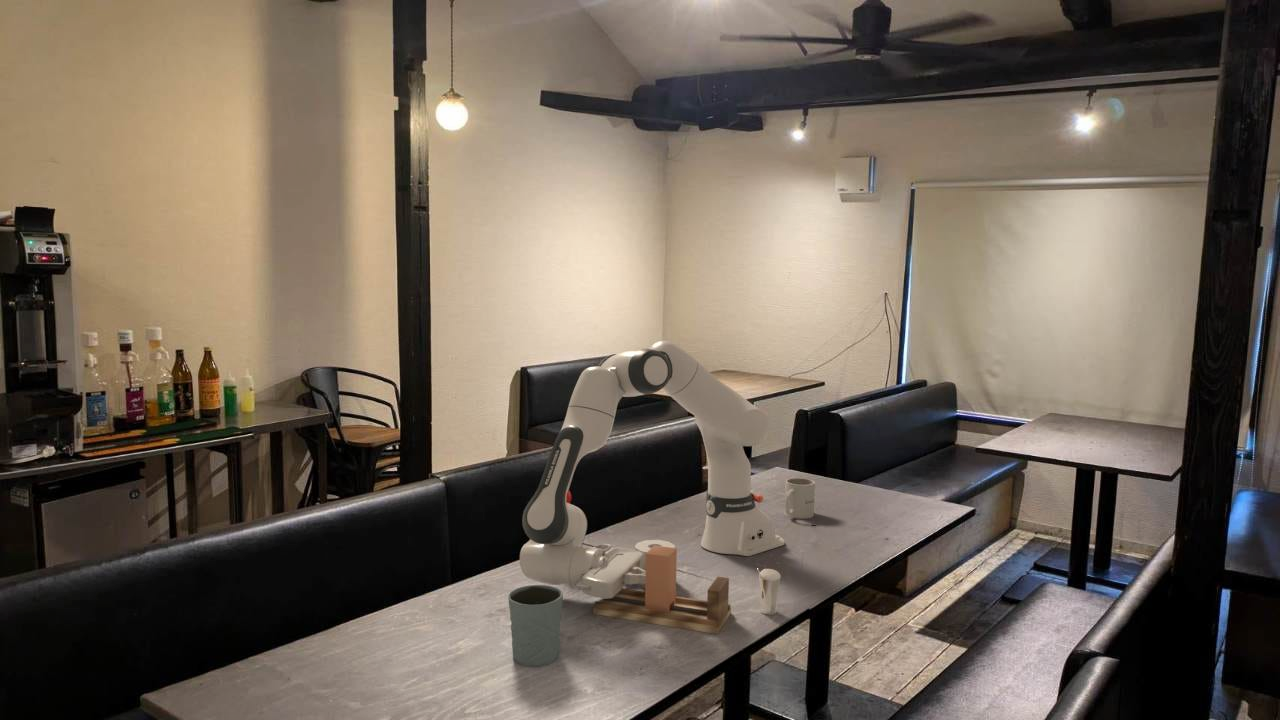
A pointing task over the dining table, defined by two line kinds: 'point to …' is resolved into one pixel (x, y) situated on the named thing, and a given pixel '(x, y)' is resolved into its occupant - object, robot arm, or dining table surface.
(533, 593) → the green cup
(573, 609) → the dining table surface
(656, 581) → the panel
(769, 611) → the milkshake
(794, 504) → the mug
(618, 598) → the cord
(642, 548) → the toilet tissue
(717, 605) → the channel
